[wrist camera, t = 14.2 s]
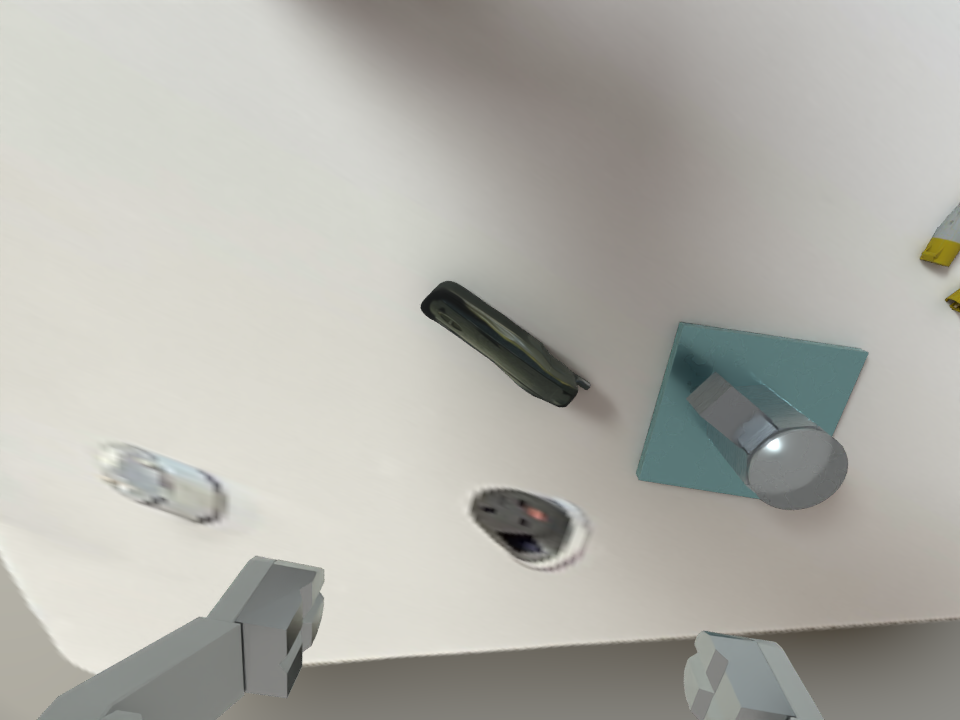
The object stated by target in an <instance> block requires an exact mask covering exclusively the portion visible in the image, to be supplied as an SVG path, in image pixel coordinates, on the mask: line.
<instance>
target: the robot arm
mask: <svg viewBox="0 0 960 720" xmlns="http://www.w3.org/2000/svg"><path fill="white" fill-rule="evenodd" d="M323 584H324V569H322V568H319V567H314V566H309V565H304V564H299V563H293V562H288V561H283V560H276V559H270V558H265V557H260V556H255V557H253V558H252V559H250V560H249V561H248V562H247V564H246V565H245V566H244V568H243V569H242V570H241V572H240V573H239V574H238V576H237V577H236V578H235V580H234V581H233V582H232V584H231V585H230V586H229V588H228V589H227V591H226V592H225V593H224V595H223V596H222V597H221V599H220V600H219V601H218V603H217V604H216V605H215V607H214V608H213V609H212V611H211V612H210V613H209V615H208V616H207V617H206V618H205V617H198V618H196V619H194V620H193V621H191V622H189V623H187V624H185V625H184V626H182V627H180V628H178V629H177V630H175V631H173V632H171V633H170V634H168V635H166V636H164V637H162V638H161V639H159V640H157V641H155V642H154V643H152V644H150V645H148V646H147V647H145V648H143V649H141V650H139V651H138V652H136V653H134V654H132V655H131V656H129V657H127V658H125V659H124V660H122V661H120V662H118V663H116V664H115V665H113V666H111V667H109V668H108V669H106V670H104V671H102V672H101V673H99V674H97V675H95V676H93V677H92V678H90V679H88V680H86V681H85V682H83V683H81V684H79V685H78V686H76V687H74V688H72V689H71V690H69V691H67V692H65V693H63V694H62V695H60V696H58V697H57V698H56V700H54V702H53V703H52V704H51V705H50V706H49V707H48V708H47V709H46V710H45V711H44V713H42V715H41V716H40V717H39V718H38V719H37V720H216V719H217V718H218V717H220V716H221V715H222V714H223V713H224V712H225V711H226V710H228V709H229V708H230V707H231V706H232V705H233V704H235V703H236V702H237V701H238V700H239V699H240V698H241V697H243V696H244V692H247V693H253V694H260V695H268V696H275V697H282V698H287V697H288V695H289V693H290V691H291V689H292V687H293V685H294V682H295V680H296V678H297V676H298V674H299V672H300V669H301V667H302V652H304V651H305V650H306V649H308V648H309V647H310V646H312V643H313V641H314V639H315V637H316V634H317V632H318V628H319V625H320V622H321V619H322V613H323V607H324V597H323V596H322V594H321V593H320V590H321V588H322V586H323ZM695 647H696V649H697V652H698V653H696V654H695V655H693V656H692V657H690V658H689V659H688V661H687V664H686V667H685V670H684V688H685V695H686V699H687V702H688V705H689V709H690V711H691V712H692V713H693V714H694V715H695V716H696V718H697V719H698V720H824V718H823V716H822V715H821V713H820V711H819V710H818V708H817V706H816V704H815V703H814V701H813V699H812V698H811V696H810V694H809V693H808V691H807V689H806V688H805V686H804V684H803V682H802V681H801V679H800V677H799V676H798V674H797V672H796V671H795V669H794V667H793V666H792V664H791V662H790V661H789V659H788V657H787V655H786V654H785V652H784V650H783V649H782V648H781V646H780V645H778V644H777V643H776V642H772V641H766V640H759V639H753V638H750V639H749V638H747V637H741V636H734V635H728V634H721V633H715V632H708V631H702V632H700V633H699V634H698V635H697V638H696V640H695Z"/></svg>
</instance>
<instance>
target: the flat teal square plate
mask: <svg viewBox="0 0 960 720" xmlns="http://www.w3.org/2000/svg"><path fill="white" fill-rule="evenodd" d="M867 356H868V352H866V351H864V350H862V349H859V348H852V347H846V346H839V345H832V344H825V343H819V342H812V341H805V340H798V339H792V338H785V337H778V336H771V335H765V334H758V333H751V332H744V331H738V330H731V329H724V328H717V327H711V326H704V325H697V324H690V323H684V322H680V323H679V326H678V330H677V333H676V337H675V340H674V344H673V347H672V351H671V354H670V358H669V361H668V364H667V368H666V371H665V375H664V378H663V382H662V385H661V389H660V392H659V396H658V399H657V403H656V406H655V410H654V413H653V417H652V420H651V423H650V427H649V430H648V434H647V437H646V441H645V444H644V448H643V451H642V455H641V458H640V462H639V465H638V469H637V472H636V475H637V477H638V479H639V480H642V481H648V482H655V483H661V484H667V485H674V486H680V487H687V488H693V489H699V490H706V491H712V492H718V493H725V494H731V495H737V496H744V497H750V498H756V499H760V498H759V497H758V496H757V495H756V493H754V492H753V491H752V490H751V489H749V488H748V487H747V486H746V485H745V484H744V482H743V481H742V480H741V479H740V477H739V476H738V475H737V474H736V472H735V471H734V470H733V468H732V467H731V466H730V465H729V463H728V462H727V461H726V460H725V458H724V457H723V456H722V454H721V453H720V452H719V451H718V449H717V448H716V447H715V446H714V444H713V443H712V442H711V441H710V439H709V438H708V436H707V421H706V420H705V419H704V418H702V417H701V416H700V415H699V414H698V413H697V411H696V410H695V409H694V408H693V407H692V405H691V404H690V403H689V402H688V401H687V399H686V398H687V397H688V396H689V395H690V394H691V393H692V392H693V391H694V390H696V389H697V388H698V387H699V386H700V385H701V384H702V383H703V382H704V381H705V380H706V379H707V378H708V377H709V376H710V375H712V374H713V373H714V372H715V371H716V372H717V373H718V374H719V375H720V376H721V377H723V378H724V379H725V380H726V381H727V382H729V383H730V384H731V385H732V386H733V387H738V386H751V385H766V386H767V387H769V388H770V389H771V390H773V391H774V392H775V393H777V394H778V395H779V396H780V397H782V398H783V399H784V400H786V401H787V402H788V403H790V404H791V405H792V406H794V407H795V408H796V409H797V410H799V411H800V412H801V413H803V414H804V415H805V416H807V417H808V418H809V419H811V420H812V421H813V422H814V423H816V424H817V425H818V426H820V427H821V428H822V429H823V430H824V431H825V432H827V433H828V434H829V435H830V436H831V437H832V435H833V433H834V431H835V428H836V426H837V424H838V421H839V419H840V417H841V415H842V412H843V410H844V408H845V406H846V403H847V401H848V399H849V396H850V394H851V392H852V390H853V387H854V385H855V383H856V381H857V378H858V376H859V374H860V371H861V369H862V367H863V365H864V362H865V360H866V358H867Z"/></svg>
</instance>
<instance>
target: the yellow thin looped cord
mask: <svg viewBox="0 0 960 720" xmlns="http://www.w3.org/2000/svg"><path fill="white" fill-rule="evenodd" d="M959 251H960V203H959V206H958V207H957V208H956V209H954V211H953V212H952V213H951V214H950V215H949V216H948V217H947V218H946V220H945V221H944V222H943V223H942V224H941V226H940V227H939V228H937V230H936V232H935V234H934V235H933V237H932V239H931V240H930V242H929V244H928V245H927V247H926V249H925V250H924V252H922V255H921V257H920V259H921V260H925V261H929V262H931V263H935V264H938V265H942V266H947V267H949V266H950V264H951V263H952V261H953V260H954V258H955V257H956V255H957V254H958V252H959ZM950 299H951V300H954V301H955V302H954V303H953V304H951V305H950V307H951V308H952V310H956V311H958V312H960V289H958V290H957V291H956V292H954V293H953V294H952V295H950V296H949V297H947V298H946V299H945V301H946V302H947V301H948V300H950Z"/></svg>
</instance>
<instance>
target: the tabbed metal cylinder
mask: <svg viewBox="0 0 960 720" xmlns="http://www.w3.org/2000/svg"><path fill="white" fill-rule="evenodd" d="M686 399H687V401H688V402H689V403H690V404H691V405H692V407H693V408H694V409H695V410H696V411H697V413H698V414H699V415H700V416H701V417H702V418H704V419H705V420H706V421H707V436H708V438H709V439H710V441H711V442H712V443H713V444H714V446H715V447H716V448H717V449H718V451H719V452H720V453H721V454H722V456H723V457H724V458H725V460H726V461H727V462H728V463H729V465H730V466H731V467H732V468H733V470H734V471H735V472H736V474H737V475H738V476H739V477H740V479H741V480H742V481H743V482H744V484H745V485H746V486H747V487H748V488H749V489H751V490H752V491H753V492H754V493H756V495H757V496H758V497H759V498H760V499H761V500H762V501H763V502H765V503H766V504H768V505H770V506H773V507H775V508H779V509H785V510H798V509H804V508H808V507H811V506H814V505H816V504H819V503H821V502H823V501H824V500H826V499H827V498H829V497H830V496H831V495H832V494H834V493H835V492H836V490H837V489H838V488H839V487H840V486H841V484H842V482H843V481H844V479H845V476H846V474H847V469H848V459H847V455H846V452H845V450H844V448H843V446H842V445H841V444H840V443H839V442H838V441H837V440H835V439H834V438H833V437H831V436H830V435H829V434H828V433H827V432H825V431H824V430H823V429H822V428H821V427H820V426H818V425H817V424H816V423H814V422H813V421H812V420H811V419H809V418H808V417H807V416H805V415H804V414H803V413H801V412H800V411H799V410H797V409H796V408H795V407H794V406H792V405H791V404H790V403H788V402H787V401H786V400H784V399H783V398H782V397H780V396H779V395H778V394H777V393H775V392H774V391H773V390H771V389H770V388H769V387H767V386H766V385H751V386H738V387H733V386H732V385H731V384H730V383H729V382H727V381H726V380H725V379H724V378H723V377H721V376H720V375H719V374H718V373H717V372H716V371H715V372H714V373H713V374H712V375H710V376H709V377H708V378H707V379H706V380H705V381H704V382H703V383H702V384H701V385H700V386H699V387H698V388H697V389H696V390H694V391H693V392H692V393H691V394H690V395H689V396H688V397H687V398H686Z"/></svg>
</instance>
